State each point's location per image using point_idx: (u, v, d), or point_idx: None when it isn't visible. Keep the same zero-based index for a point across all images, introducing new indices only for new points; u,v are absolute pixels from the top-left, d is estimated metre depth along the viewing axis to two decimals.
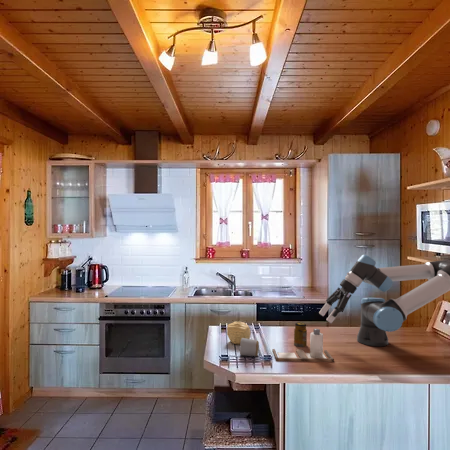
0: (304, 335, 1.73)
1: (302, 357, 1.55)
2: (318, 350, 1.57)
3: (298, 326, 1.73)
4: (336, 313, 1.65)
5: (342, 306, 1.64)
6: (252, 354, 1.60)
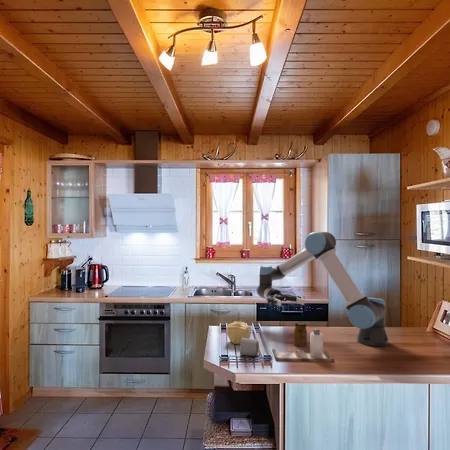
0: (304, 335, 1.73)
1: (302, 357, 1.55)
2: (318, 350, 1.57)
3: (298, 326, 1.73)
4: (273, 301, 1.85)
5: None
6: (252, 354, 1.60)
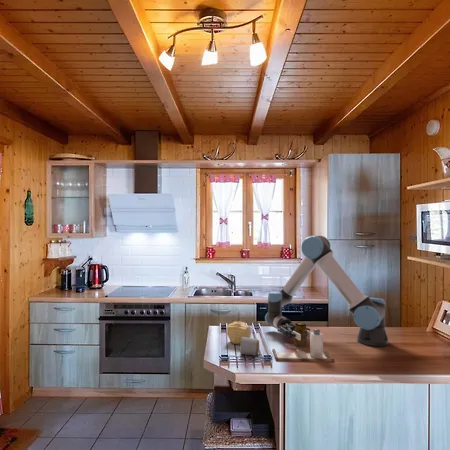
0: (304, 335, 1.73)
1: (302, 357, 1.55)
2: (318, 350, 1.57)
3: (298, 326, 1.73)
4: (291, 334, 1.73)
5: (284, 332, 1.76)
6: (252, 353, 1.62)
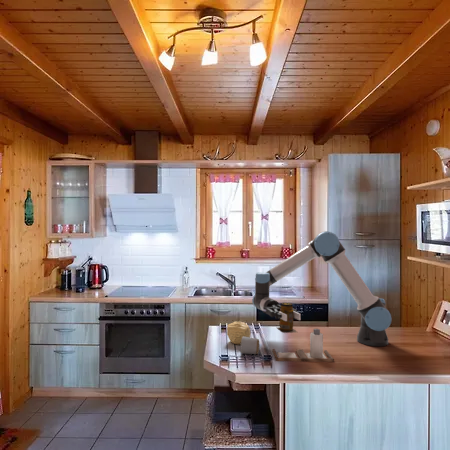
0: (290, 316, 1.60)
1: (302, 357, 1.55)
2: (318, 350, 1.57)
3: (284, 306, 1.61)
4: (277, 315, 1.61)
5: (270, 313, 1.64)
6: (253, 352, 1.62)
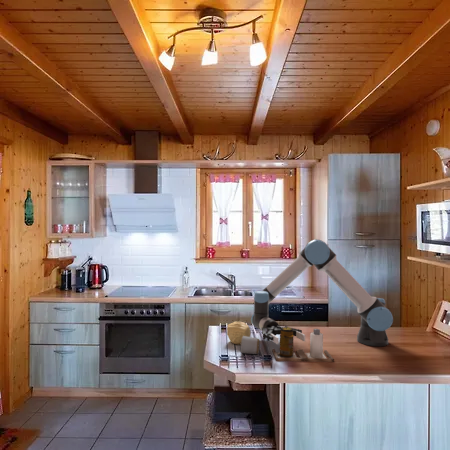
0: (290, 341, 1.58)
1: (302, 357, 1.55)
2: (318, 350, 1.57)
3: (284, 331, 1.59)
4: (269, 337, 1.59)
5: None
6: (253, 352, 1.63)
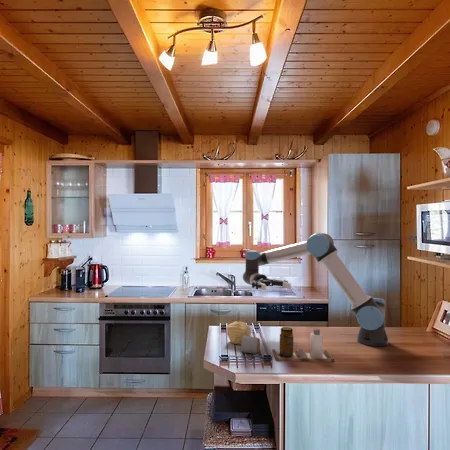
0: (290, 341, 1.58)
1: (302, 357, 1.55)
2: (318, 350, 1.57)
3: (284, 331, 1.59)
4: (257, 285, 1.76)
5: None
6: (253, 351, 1.64)
